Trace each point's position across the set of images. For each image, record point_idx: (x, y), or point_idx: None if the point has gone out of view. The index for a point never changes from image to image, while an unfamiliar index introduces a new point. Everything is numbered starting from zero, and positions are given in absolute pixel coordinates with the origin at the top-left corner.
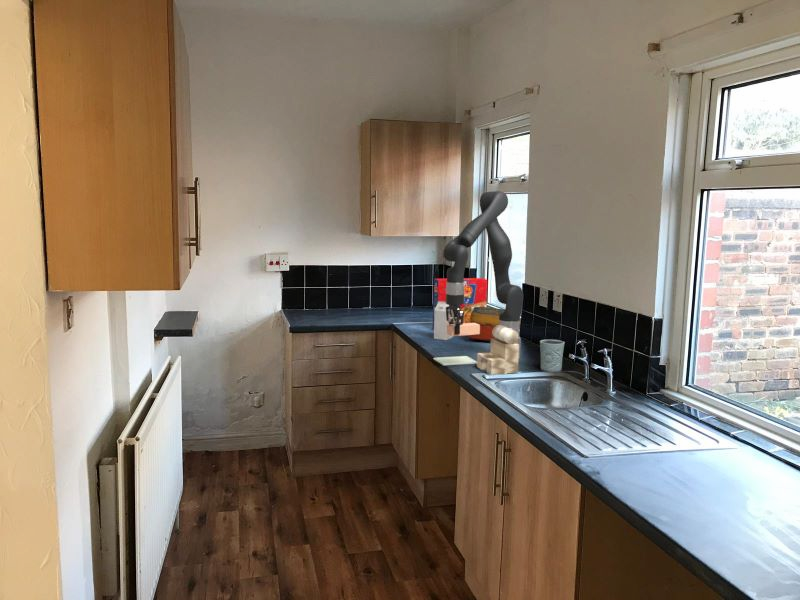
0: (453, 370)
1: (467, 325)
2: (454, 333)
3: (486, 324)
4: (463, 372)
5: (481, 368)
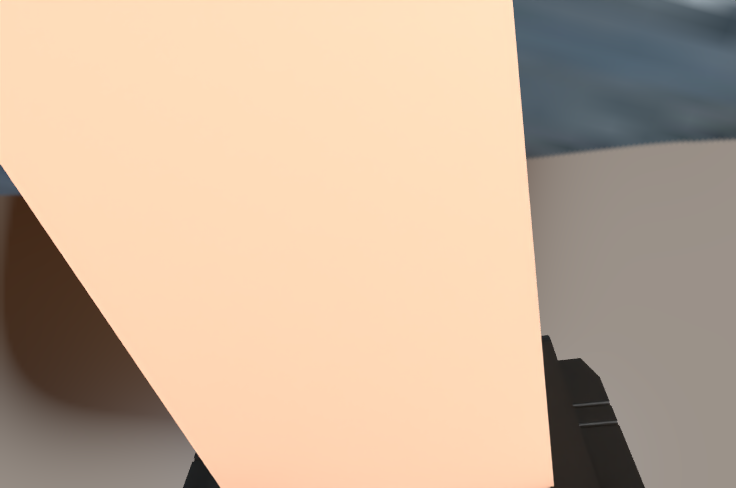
0: None
1: (514, 286)
2: None
3: None
4: (593, 74)
5: None
